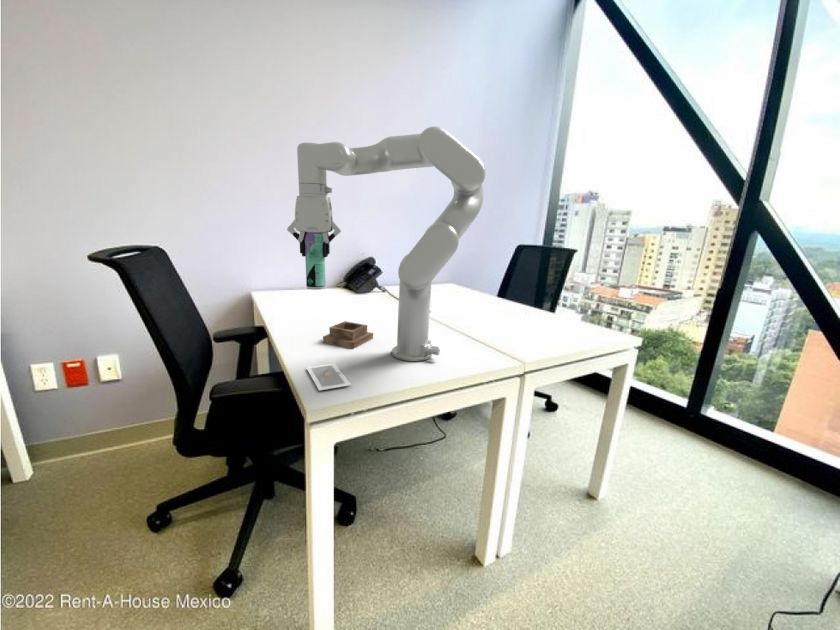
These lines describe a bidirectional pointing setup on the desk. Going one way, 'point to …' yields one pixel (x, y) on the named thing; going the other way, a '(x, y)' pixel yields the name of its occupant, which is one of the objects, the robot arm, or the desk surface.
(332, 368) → the touchpad
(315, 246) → the spray can
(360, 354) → the desk surface
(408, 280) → the robot arm
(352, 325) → the display stand
